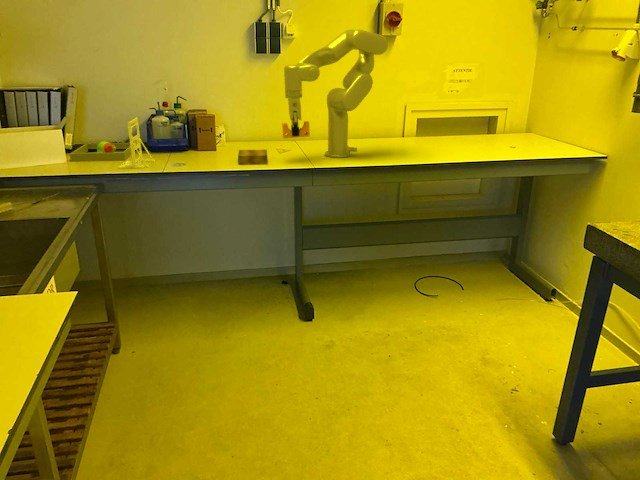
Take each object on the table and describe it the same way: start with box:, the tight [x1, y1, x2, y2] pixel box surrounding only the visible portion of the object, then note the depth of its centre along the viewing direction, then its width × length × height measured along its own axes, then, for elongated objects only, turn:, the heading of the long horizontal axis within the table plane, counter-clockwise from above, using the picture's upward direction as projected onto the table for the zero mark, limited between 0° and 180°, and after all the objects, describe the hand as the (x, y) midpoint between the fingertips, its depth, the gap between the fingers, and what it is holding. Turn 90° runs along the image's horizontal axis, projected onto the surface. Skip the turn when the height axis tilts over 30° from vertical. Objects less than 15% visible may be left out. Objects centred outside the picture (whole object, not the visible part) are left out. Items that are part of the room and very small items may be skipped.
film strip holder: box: [117, 117, 156, 169], centre depth 228 cm, size 14×14×20 cm
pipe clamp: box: [281, 120, 310, 139], centre depth 237 cm, size 12×4×6 cm, turn 102°
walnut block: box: [237, 149, 268, 166], centre depth 239 cm, size 13×13×4 cm
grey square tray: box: [69, 142, 132, 162], centre depth 248 cm, size 24×24×4 cm
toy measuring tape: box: [96, 141, 117, 153], centre depth 245 cm, size 6×20×7 cm, turn 152°
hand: (295, 134), depth 237 cm, fingers closed on pipe clamp, 4 cm apart
